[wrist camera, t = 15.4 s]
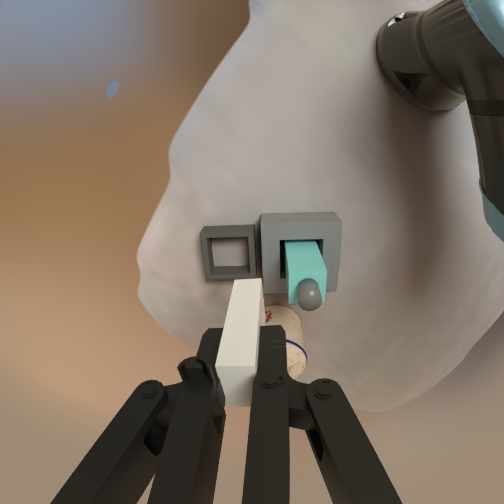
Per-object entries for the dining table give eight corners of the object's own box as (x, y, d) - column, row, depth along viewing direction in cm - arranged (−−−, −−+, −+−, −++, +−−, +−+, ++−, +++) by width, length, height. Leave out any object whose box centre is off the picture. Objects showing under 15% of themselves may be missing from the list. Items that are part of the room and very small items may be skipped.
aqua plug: (312, 233, 39) (331, 282, 27) (312, 259, 40) (328, 316, 28) (283, 234, 39) (290, 284, 27) (284, 260, 41) (290, 318, 28)
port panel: (334, 212, 37) (341, 221, 34) (330, 277, 41) (336, 291, 38) (261, 213, 38) (260, 223, 34) (264, 279, 42) (263, 293, 39)
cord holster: (254, 224, 39) (253, 230, 37) (256, 270, 42) (256, 278, 39) (204, 226, 39) (200, 232, 37) (209, 271, 42) (206, 279, 40)
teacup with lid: (263, 293, 43) (261, 346, 33) (312, 316, 45) (322, 368, 34) (230, 343, 48) (221, 395, 37) (275, 361, 49) (275, 413, 39)
